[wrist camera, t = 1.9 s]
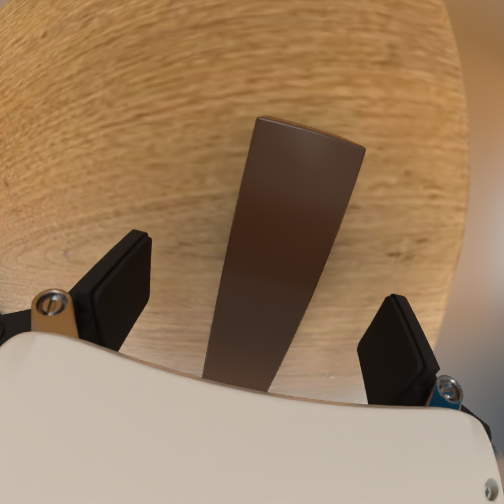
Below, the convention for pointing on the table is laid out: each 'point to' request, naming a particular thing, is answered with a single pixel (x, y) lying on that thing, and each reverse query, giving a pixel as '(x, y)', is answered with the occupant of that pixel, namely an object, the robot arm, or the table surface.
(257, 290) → the brown wooden block
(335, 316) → the table surface
